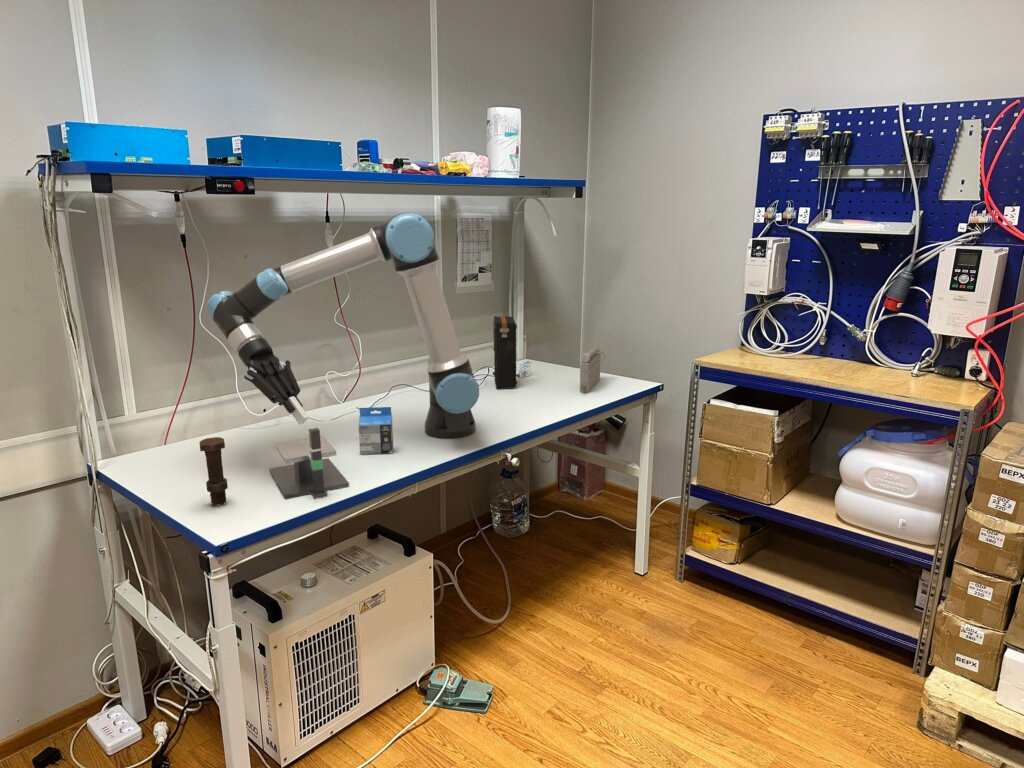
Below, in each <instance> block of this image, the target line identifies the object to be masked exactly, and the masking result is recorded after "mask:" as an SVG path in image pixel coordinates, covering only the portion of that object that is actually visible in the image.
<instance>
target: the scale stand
mask: <svg viewBox="0 0 1024 768" xmlns="http://www.w3.org/2000/svg"><path fill="white" fill-rule="evenodd" d="M320 437H321V430H320V429H319V428H318V427H315V428H309V429H308V439H309V440H310V452H311V458H310V460H307V461H301V462H295V463H291V464H285V465H282V466H274V467H270V468H268V470H269V474H270V475H271V478H272V479H273V481H274V483H275V485H276V486H277V488H278V489H279V492H280V493H281V495H282V497H283V498H284V500H287V499H294V498H298V497H304V496H308V495H311V496H312V497H313V499H319V498H325V497H328V492H329V491H333V490H332V489H334V490H338V489H337V488H339V489H343V488H342V487H345V488H348V487H347V486H349V487H350V482H349V481H348V480H347V478H346V477H345V476H344V475H343V474H342V473H341V471H340V470H339V469H338V467H336V465H335V464H334V463H333V461H331V460H330V458H329V457H325V458H322V454H321V451H322V448H321V441H320ZM328 490H329V491H328ZM327 491H328V492H327ZM324 496H325V497H324Z"/></svg>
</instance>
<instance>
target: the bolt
mask: <svg viewBox="0 0 1024 768" xmlns="http://www.w3.org/2000/svg"><path fill="white" fill-rule="evenodd" d="M225 443H226V442H225V438H223V437H220V436H219V437H217V436H214V437H207V438H204V439H201V440H200V441H199V451H200V452H204V456H205V460H206V461H205V462H206V468H207V478H208V480H207V481H206V482H205V485H206V491H207V492H208V493H209V495H210V501H211V502H210V503H211V504H212V505H213V506H216V507H217V506H221V505H225V504H226V502H227V495H226V494H227V493H226V490H227V489H229V485H228V479H227V478H225V475H224V468H223V467H224V466H223V458H222V449H225V448H226V444H225Z"/></svg>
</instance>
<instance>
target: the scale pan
mask: <svg viewBox="0 0 1024 768" xmlns="http://www.w3.org/2000/svg"><path fill="white" fill-rule="evenodd" d="M320 441H321V448H322V451H321V454H322V459H325V458H329V457H333V456H335V457H336V456H337V450H336V449H335V448H334V447H333V445H332V444H331V443H330V442H329V441H328V439H327V438H325V436H320ZM274 447H275V450H276V452H277V454H278V455H279V457H280V458H281V460H282V461H283V463H284V464H285V465H291V464H294V463H295V462H301V461H307V460H310V458H311V452H310V440H309V438H306V439H300V440H293V441H287V442H282V443H281V442H280V443H275V444H274Z"/></svg>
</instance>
